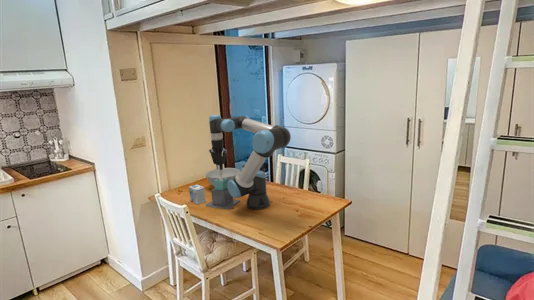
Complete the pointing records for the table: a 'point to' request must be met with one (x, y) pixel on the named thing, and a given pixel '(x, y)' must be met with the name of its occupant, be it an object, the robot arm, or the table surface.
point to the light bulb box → (197, 194)
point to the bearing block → (222, 199)
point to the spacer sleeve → (221, 184)
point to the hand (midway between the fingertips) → (220, 174)
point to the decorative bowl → (226, 173)
